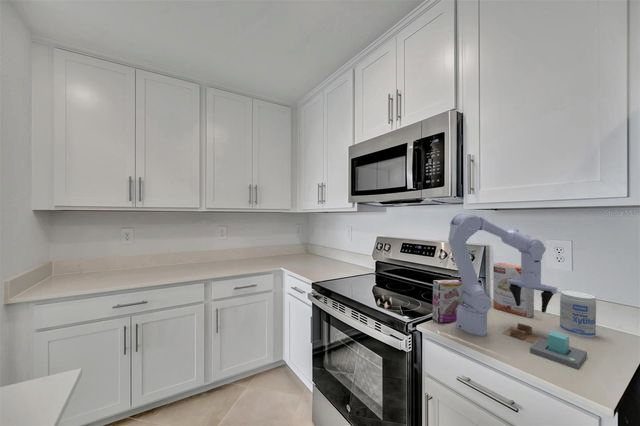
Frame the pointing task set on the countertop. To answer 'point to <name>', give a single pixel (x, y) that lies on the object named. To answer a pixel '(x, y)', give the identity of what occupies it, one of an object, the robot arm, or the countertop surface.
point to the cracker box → (503, 294)
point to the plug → (558, 343)
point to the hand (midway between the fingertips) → (530, 308)
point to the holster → (522, 333)
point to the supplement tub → (578, 313)
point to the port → (572, 360)
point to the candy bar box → (446, 300)
